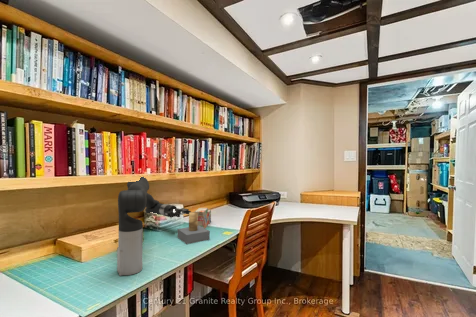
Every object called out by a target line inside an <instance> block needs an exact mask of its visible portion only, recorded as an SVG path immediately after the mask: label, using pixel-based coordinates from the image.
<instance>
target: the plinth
mask: <svg viewBox="0 0 476 317" xmlns="http://www.w3.org/2000/svg"><path fill="white" fill-rule="evenodd" d="M210 231H211V230H210V229H209V230H208V229H207V228H203V227H201V226H198V230H197V231H189V226H188V227H182V228H177V235H176V236H177V238H178V239H179V240H180V241H182V242H183V243H184V244H186V245H189V244H195V243H198V242H199V243H200V242H204V241H205V242H206V241H210V239H211V237H210V233H211V232H210Z"/></svg>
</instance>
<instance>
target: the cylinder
mask: <svg viewBox="0 0 476 317" xmlns="http://www.w3.org/2000/svg"><path fill="white" fill-rule="evenodd" d="M188 227H189V231H197V230H198V213H197V212H195V211H191V212H190V213H189V214H188Z"/></svg>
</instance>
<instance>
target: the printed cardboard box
mask: <svg viewBox="0 0 476 317" xmlns="http://www.w3.org/2000/svg"><path fill="white" fill-rule="evenodd" d="M194 212H197V213H198V226H201V227H203V228H205V229H207V227H208V226H209V225H210V224H211V223H212V210H211V209H209V208H208V207H198V209H196V210H194ZM208 224H209V225H208ZM207 225H208V226H207Z"/></svg>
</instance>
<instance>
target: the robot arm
mask: <svg viewBox="0 0 476 317" xmlns="http://www.w3.org/2000/svg"><path fill="white" fill-rule="evenodd" d="M140 177H141V176H140ZM144 177H145V176H143V177H141V178H140V180H139V181H136V182H129V181H128V182H127V183H126V186H127V189H125V190H120V191H119V193H118V196H117V197H118V198H117V210H118V244H117V245H118V247H117V249H116V250H117V251H116V252H117V254H116V260H117V263H116V270H117V273H118V275H119V277H120V276H132V275H135V274H138V273H140V272H141V271H142V270H143V265H144V264H143V254H144V253H143V250H144V249H143V248H144V246H143V236H144V235H143V234H144V232H143V231H144V230H143V229H144V228H143V226H144V223H143V221H142V220H140V219H138V218H134V217H131V216H130V215H129V213H130V214H131V213H132V214H133V213H140V212H143V211H145V213H146V214H147V213H150V212H153V213H157V214H158V215H160V216H164V217H166V218H181V215H189V213H190V212H192V211H191V210H189V208H183V207H182V208H179V207H178V208H177V206H176V205H173V204H172V205H171V204H168V203H166V204H164V203H160V202H159V201H158V200H157V199H154V197H153V196H152V194H150V193H148V191H149V189H150V184H149V181H148V179H147V178H146V177H145V178H144Z"/></svg>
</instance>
